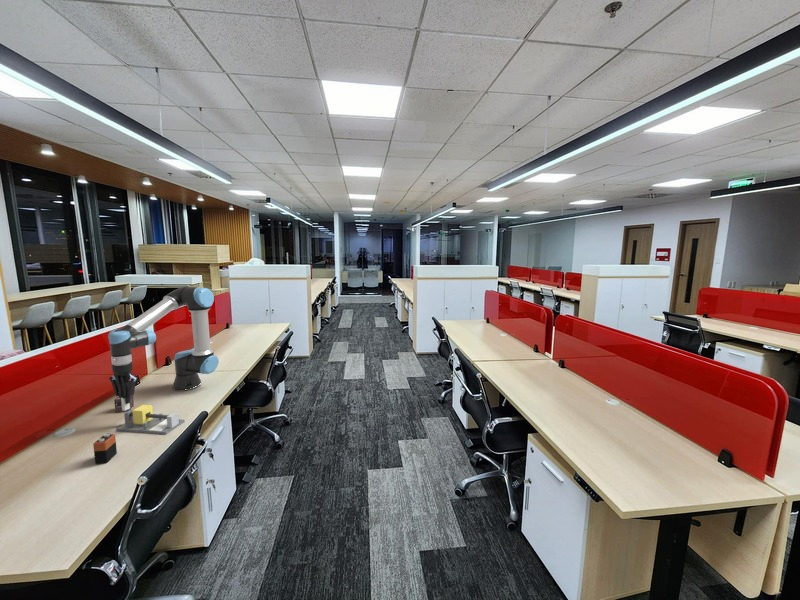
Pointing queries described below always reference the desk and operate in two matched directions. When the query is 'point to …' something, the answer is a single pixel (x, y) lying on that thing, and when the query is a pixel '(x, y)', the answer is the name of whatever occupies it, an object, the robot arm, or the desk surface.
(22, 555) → the desk surface
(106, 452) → the battery
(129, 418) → the gray rail plate
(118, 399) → the box
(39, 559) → the desk surface
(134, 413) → the sleeve
